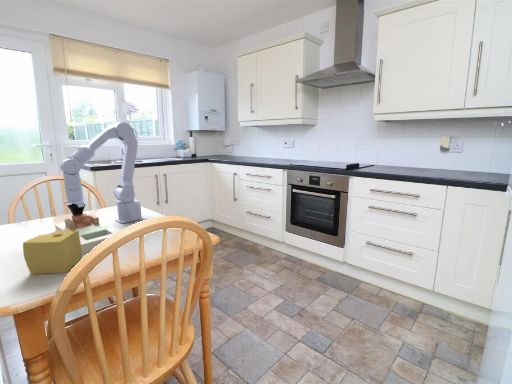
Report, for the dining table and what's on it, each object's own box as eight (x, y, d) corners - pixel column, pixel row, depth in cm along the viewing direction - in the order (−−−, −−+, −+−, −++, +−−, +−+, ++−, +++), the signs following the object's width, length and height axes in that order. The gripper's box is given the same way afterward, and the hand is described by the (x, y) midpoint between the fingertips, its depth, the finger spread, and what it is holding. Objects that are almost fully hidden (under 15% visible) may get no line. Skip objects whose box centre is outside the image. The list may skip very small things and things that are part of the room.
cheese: (50, 259, 90) (44, 230, 88) (85, 258, 91) (80, 228, 89) (27, 276, 80) (20, 243, 78) (66, 273, 81) (61, 241, 79)
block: (86, 222, 117) (85, 213, 117) (90, 225, 114) (89, 215, 113) (73, 225, 114) (71, 216, 113) (76, 228, 110) (75, 218, 110)
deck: (93, 222, 126) (91, 210, 125) (124, 241, 105) (122, 225, 103) (56, 231, 116) (53, 217, 115) (82, 253, 95) (79, 236, 93)
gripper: (57, 188, 116) (62, 219, 118) (67, 193, 106) (72, 227, 109) (76, 185, 121) (81, 215, 123) (88, 190, 111) (92, 222, 114)
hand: (78, 220), depth 116 cm, fingers closed
